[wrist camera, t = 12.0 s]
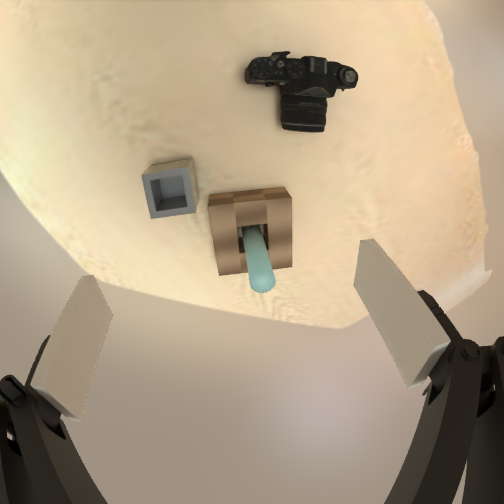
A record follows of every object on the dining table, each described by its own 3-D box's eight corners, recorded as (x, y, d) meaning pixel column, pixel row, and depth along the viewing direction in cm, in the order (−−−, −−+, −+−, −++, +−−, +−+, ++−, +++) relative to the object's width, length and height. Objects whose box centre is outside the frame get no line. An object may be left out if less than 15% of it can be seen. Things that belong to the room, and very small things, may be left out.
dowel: (240, 217, 45) (249, 273, 32) (258, 215, 45) (275, 270, 32) (241, 234, 47) (251, 294, 33) (259, 232, 47) (275, 291, 33)
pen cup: (151, 165, 39) (141, 174, 34) (193, 158, 39) (188, 166, 34) (159, 204, 43) (151, 219, 37) (199, 198, 43) (195, 212, 38)
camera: (242, 126, 38) (248, 132, 29) (244, 59, 32) (250, 45, 24) (331, 131, 39) (359, 140, 31) (334, 68, 34) (364, 62, 25)
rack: (209, 195, 43) (207, 206, 38) (284, 187, 43) (291, 197, 39) (219, 259, 49) (219, 275, 45) (286, 251, 49) (292, 267, 45)
